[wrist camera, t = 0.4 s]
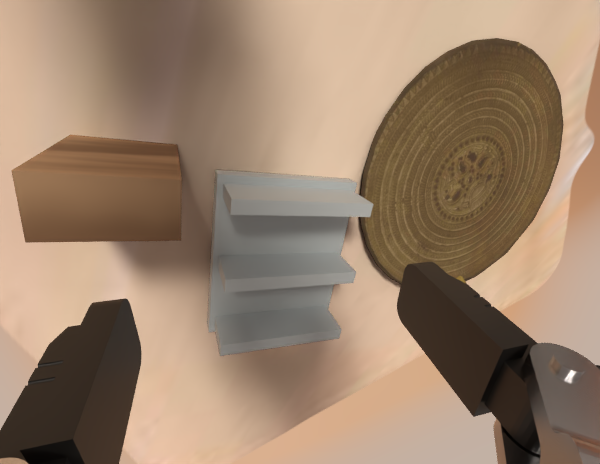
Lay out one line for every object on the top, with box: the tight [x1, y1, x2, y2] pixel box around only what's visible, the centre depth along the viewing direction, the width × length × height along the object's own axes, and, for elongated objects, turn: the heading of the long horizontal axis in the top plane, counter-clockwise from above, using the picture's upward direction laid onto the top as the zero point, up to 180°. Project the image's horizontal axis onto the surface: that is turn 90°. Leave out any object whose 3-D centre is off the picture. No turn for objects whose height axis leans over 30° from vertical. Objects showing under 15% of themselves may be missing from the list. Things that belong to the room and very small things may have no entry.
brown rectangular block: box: [12, 135, 182, 242], centre depth 20 cm, size 4×7×10 cm, turn 80°
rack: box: [207, 170, 373, 356], centre depth 30 cm, size 16×13×6 cm
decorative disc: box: [360, 38, 563, 284], centre depth 37 cm, size 29×3×30 cm
